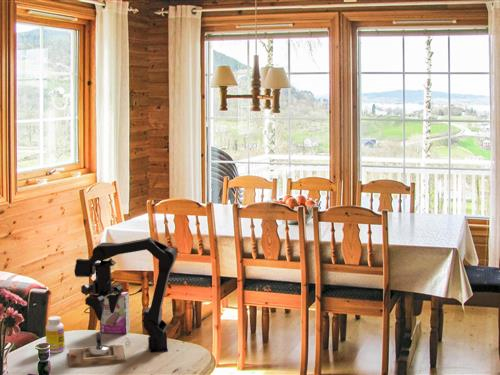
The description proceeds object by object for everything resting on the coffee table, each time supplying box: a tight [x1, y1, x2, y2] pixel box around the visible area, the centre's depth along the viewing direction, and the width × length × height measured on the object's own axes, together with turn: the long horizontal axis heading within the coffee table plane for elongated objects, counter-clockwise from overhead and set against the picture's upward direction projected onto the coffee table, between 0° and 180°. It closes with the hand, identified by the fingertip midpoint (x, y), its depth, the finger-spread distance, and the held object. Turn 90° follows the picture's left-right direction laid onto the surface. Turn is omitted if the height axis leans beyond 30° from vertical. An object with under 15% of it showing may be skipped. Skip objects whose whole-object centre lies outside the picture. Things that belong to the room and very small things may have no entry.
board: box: [68, 344, 126, 368], centre depth 286 cm, size 20×15×2 cm
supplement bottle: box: [45, 315, 66, 354], centre depth 292 cm, size 7×7×13 cm
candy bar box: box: [99, 291, 131, 335], centre depth 312 cm, size 11×5×16 cm, turn 82°
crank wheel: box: [89, 331, 109, 357], centre depth 286 cm, size 10×7×6 cm, turn 13°
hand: (105, 316), depth 294 cm, fingers open, 9 cm apart
